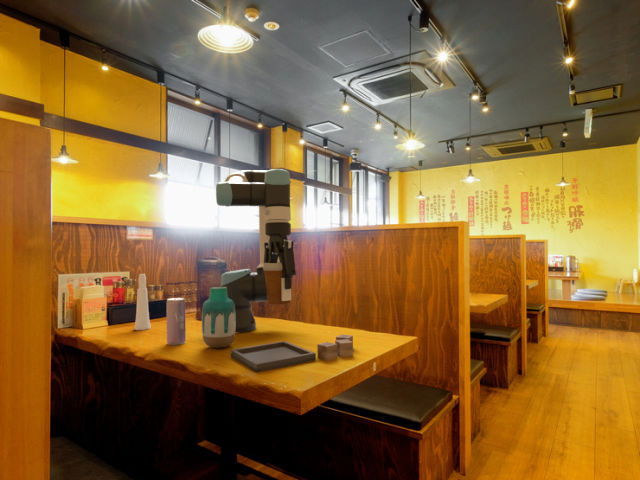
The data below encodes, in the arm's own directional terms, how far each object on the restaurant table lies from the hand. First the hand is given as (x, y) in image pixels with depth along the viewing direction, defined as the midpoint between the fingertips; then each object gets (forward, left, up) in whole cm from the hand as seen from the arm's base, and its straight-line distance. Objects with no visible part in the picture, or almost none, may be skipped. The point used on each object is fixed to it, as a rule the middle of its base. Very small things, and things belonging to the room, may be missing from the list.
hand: (279, 299), depth 115 cm
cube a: (+10, +10, -17) cm, 22 cm away
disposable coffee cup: (0, 0, -1) cm, 1 cm away
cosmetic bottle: (-69, -26, -17) cm, 75 cm away
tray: (+1, -3, -17) cm, 17 cm away
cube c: (+5, +20, -17) cm, 27 cm away
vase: (-21, -11, -17) cm, 29 cm away
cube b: (+10, +16, -17) cm, 25 cm away
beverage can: (-35, -21, -17) cm, 44 cm away
